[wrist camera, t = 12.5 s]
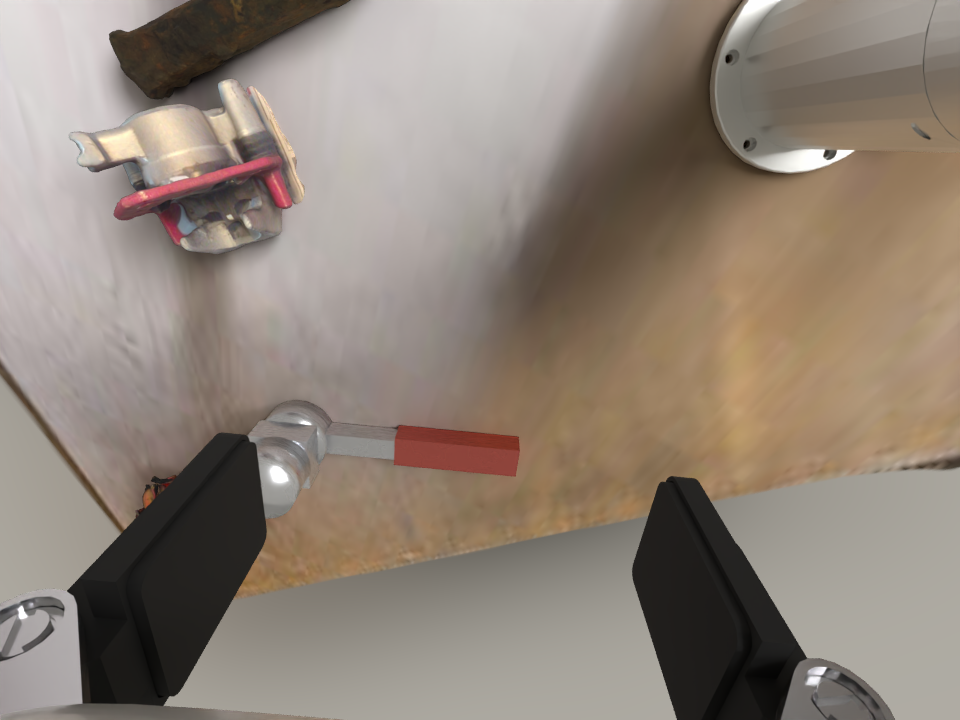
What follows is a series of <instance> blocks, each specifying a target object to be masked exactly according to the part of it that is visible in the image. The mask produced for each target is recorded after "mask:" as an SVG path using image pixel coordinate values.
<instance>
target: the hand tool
mask: <svg viewBox="0 0 960 720" xmlns="http://www.w3.org/2000/svg"><path fill="white" fill-rule="evenodd" d="M348 1H350V0H190V1H188V2H186V3H184V4H182V5H180V6H179V7H176V8H174V9H172V10H170V11H169V12H167V13H165V14H164V15H162V16H160V17H159V18H157V19H155V20H153V21H151V22H149V23H147V24H146V25H144V26H141V27H139V28H138V29H135V30H133V31H130V32H125V31H122V30H116V31H113V32H111V33H110V34H109V40H110V43H111V45H112V47H113V49H114V52H115V54H116V56H117V58H118V60H119V62H120V64H121V68H122V70H123V71H124V73H125V74H126V75H127V76H128V77H129V78H130V79H131V80H133V81H134V82H135V83H136V84H137V85H138V87H139V88H140V89H141V90H142V91H143V92H144V93H145V94H146V95H147V96H148V97H149V98H152V99H158V100H159V99H163V98H164V97H170V96H171V95H172V94H173V89H174V87H181V86H186V85H188V83H190V79H191V78H193V77H196V76H198V75H200V74H202V73H204V72H208V71H211V70H213V69H214V68H216V67H217V66H219V65H222V64H224V61H225V60H227V59H229V58H231V57H233V56H235V55H237V54H240V53H242V52H245V51H248V50H251V49H253V47H254V46H256V45H258V44H260V43H262V42H263V41H265V40H267V39H269V38H271V37H273V36H275V35H277V34H279V33H280V32H282V31H284V30H286V29H288V28H290V27H293V26H295V25H296V24H298V23H300V22H302V21H303V20H305V19H308V18H310V17H312V16H314V15H316V14H318V13H320V12H322V11H324V10H327V9H330V8H333V7H340V6H341V5H343V4H345V3H347V2H348Z"/></svg>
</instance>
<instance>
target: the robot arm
mask: <svg viewBox="0 0 960 720" xmlns="http://www.w3.org/2000/svg"><path fill="white" fill-rule="evenodd" d="M726 55H728V56H729V58H730V60H729V62H728V63H727V64H726V62H725V56H726ZM710 105H711V110H712V114H713V118H714V123H715V125H716V127H717V129H718V132H719V134H720V136H721V138H722V140H723V141H724V142H725V144H726V145H727V146H728V147H729V149H730V150H731V151H732V152H733V153H734V154H735V155H736V156H738V157H739V158H740V159H741V160H743V161H744V162H745V163H748V164H750V165H752V166H754V167H756V168H758V169H762V170H766V171H771V172H777V173H789V174H790V173H801V172H809V171H813V170H816V169H820V168H823V167H827V166H829V165H831V164H833V163H835V162H837V161H839V160H841V159H844V158H845V157H847V156H848V155H850V154H851V153H853V152H854V151H856V150H862V151H901V152H941V153H960V0H743V1H742V2H741V4H740V5H739V7H738V8H737V10H736V11H735V13H734V14H733V16H732V17H731V19H730V20H729V22H728V24H727V26H726V29H725V31H724V33H723V35H722V37H721V39H720V41H719V44H718V47H717V51H716V54H715V57H714V61H713V64H712V72H711V79H710ZM745 141H746V142H747V146H746V147H745V148H743V144H744V142H745ZM824 151H825V154H824V155H823V153H824ZM266 533H267V531H266V521H265V513H264V504H263V496H262V487H261V479H260V471H259V462H258V454H257V447H256V444H255V443H254V442H250V440H249V438H248V436H246V435H241V434H231V433H218V434H217V435H216V436H215V437H214V438H213V439H212V440H211V441H210V442H209V443H208V444H207V445H206V446H205V447H204V448H203V450H202V451H201V452H200V453H199V454H198V455H197V456H196V457H195V458H194V459H193V460H192V461H191V462H190V463H189V464H188V465H187V466H186V467H185V469H184V470H183V471H182V472H181V473H180V474H179V475H178V476H177V477H176V478H175V479H174V480H173V481H172V482H171V483H170V484H169V485H168V487H167V488H166V489H165V490H164V491H162V492H161V493H160V494H159V495H158V496H157V497H156V498H155V499H154V500H153V501H152V502H151V503H150V504H149V505H148V506H147V507H146V508H145V509H144V510H143V511H142V513H141V514H140V515H139V516H138V517H137V518H136V519H135V520H134V521H133V522H132V523H131V524H130V525H129V526H128V527H127V528H126V529H125V530H124V531H123V533H122V534H121V535H120V536H119V537H118V538H117V539H116V540H115V541H114V542H113V543H112V544H111V545H110V546H109V547H108V548H107V549H106V550H105V551H104V553H103V554H102V555H101V556H100V557H99V558H98V559H97V560H96V561H95V562H94V563H93V564H92V565H91V566H90V567H89V568H88V569H87V570H86V572H85V573H84V574H83V575H82V576H81V577H80V578H79V579H78V580H77V581H76V582H75V583H74V584H73V585H72V586H71V587H70V588H69V589H68V590H67V591H65V590H58V589H42V590H36V591H32V592H29V593H25V594H21V595H18V596H16V597H14V598H12V599H9V600H7V601H5V602H3V603H1V604H0V720H340V719H326V718H315V717H302V716H291V715H279V714H265V713H254V712H242V711H230V710H217V709H201V708H186V707H170V706H164V704H165V702H166V701H167V699H168V697H169V696H175V695H176V694H178V693H179V692H180V690H181V689H182V687H183V686H184V684H185V682H186V680H187V679H188V677H189V675H190V673H191V671H192V670H193V668H194V666H195V664H196V663H197V661H198V659H199V657H200V656H201V654H202V652H203V651H204V649H205V647H206V645H207V644H208V642H209V640H210V638H211V636H212V635H213V633H214V631H215V629H216V628H217V626H218V624H219V623H220V621H221V619H222V617H223V616H224V614H225V612H226V610H227V608H228V607H229V605H230V603H231V602H232V600H233V598H234V596H235V595H236V593H237V591H238V589H239V587H240V586H241V584H242V582H243V580H244V579H245V577H246V575H247V573H248V572H249V570H250V568H251V566H252V565H253V563H254V561H255V559H256V558H257V556H258V554H259V552H260V551H261V549H262V547H263V545H264V542H265V539H266ZM632 576H633V581H634V585H635V588H636V591H637V594H638V597H639V601H640V604H641V607H642V610H643V613H644V616H645V619H646V623H647V626H648V629H649V632H650V635H651V638H652V642H653V645H654V648H655V651H656V654H657V658H658V661H659V664H660V667H661V670H662V673H663V677H664V680H665V683H666V686H667V689H668V692H669V696H670V699H671V702H672V705H673V708H674V711H675V715H676V718H677V720H895V718H894V716H893V714H892V712H891V711H890V709H889V707H888V706H887V705H886V703H885V702H884V701H883V699H882V698H881V697H880V696H879V694H877V692H876V691H874V690H873V689H872V688H871V687H870V686H869V685H868V684H867V683H866V682H865V681H864V680H862V679H861V678H860V677H858V676H857V675H855V674H854V673H853V672H851V671H850V670H848V669H846V668H844V667H842V666H840V665H838V664H836V663H834V662H831V661H827V660H824V659H820V658H818V659H817V658H815V659H814V658H808V659H807V657H806V656H805V654H804V652H803V651H802V649H801V647H800V646H799V644H798V642H797V641H796V639H795V638H794V636H793V634H792V632H791V631H790V629H789V627H788V626H787V624H786V623H785V621H784V619H783V618H782V616H781V614H780V613H779V611H778V610H777V608H776V606H775V604H774V603H773V601H772V599H771V598H770V596H769V595H768V593H767V591H766V589H765V588H764V586H763V584H762V583H761V581H760V580H759V578H758V576H757V575H756V573H755V571H754V570H753V568H752V566H751V565H750V563H749V561H748V560H747V558H746V556H745V555H744V553H743V551H742V550H741V549H740V547H739V546H738V545H737V544H736V543H735V541H734V539H733V538H732V536H731V534H730V533H729V531H728V530H727V528H726V526H725V525H724V523H723V521H722V520H721V518H720V516H719V515H718V513H717V511H716V510H715V508H714V506H713V505H712V503H711V501H710V500H709V498H708V496H707V495H706V493H705V491H704V490H703V488H702V486H701V485H700V483H699V482H698V480H696V479H694V478H684V477H674V476H671V477H669V478H668V479H667V480H666V482H660V484H659V485H658V488H657V491H656V494H655V497H654V501H653V504H652V507H651V510H650V513H649V516H648V520H647V523H646V526H645V529H644V532H643V535H642V538H641V541H640V545H639V547H638V551H637V554H636V557H635V560H634V563H633V568H632Z"/></svg>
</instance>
